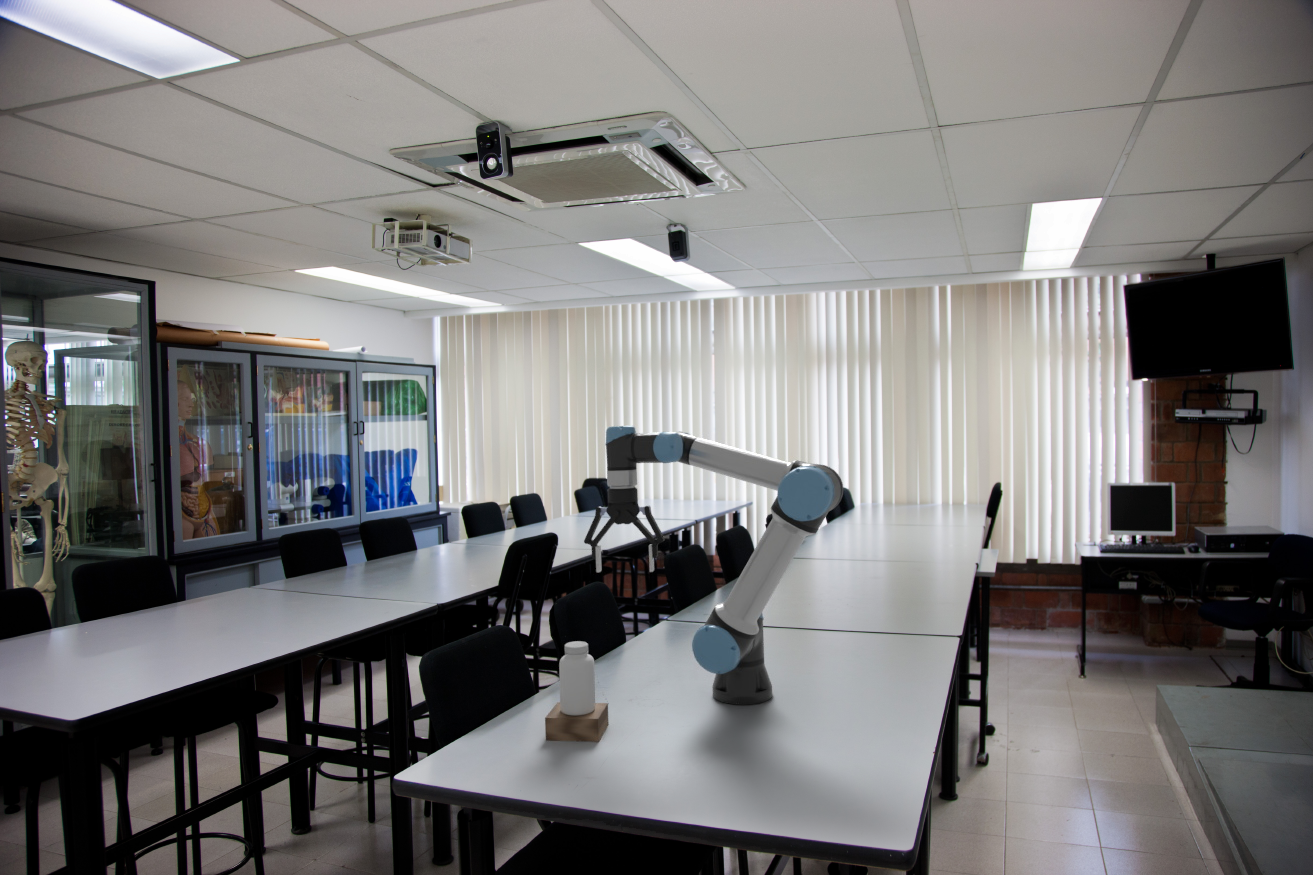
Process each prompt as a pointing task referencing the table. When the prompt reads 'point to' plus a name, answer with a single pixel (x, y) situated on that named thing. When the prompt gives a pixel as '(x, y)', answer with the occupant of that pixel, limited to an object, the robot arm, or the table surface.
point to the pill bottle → (577, 680)
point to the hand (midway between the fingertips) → (625, 571)
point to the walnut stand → (576, 725)
